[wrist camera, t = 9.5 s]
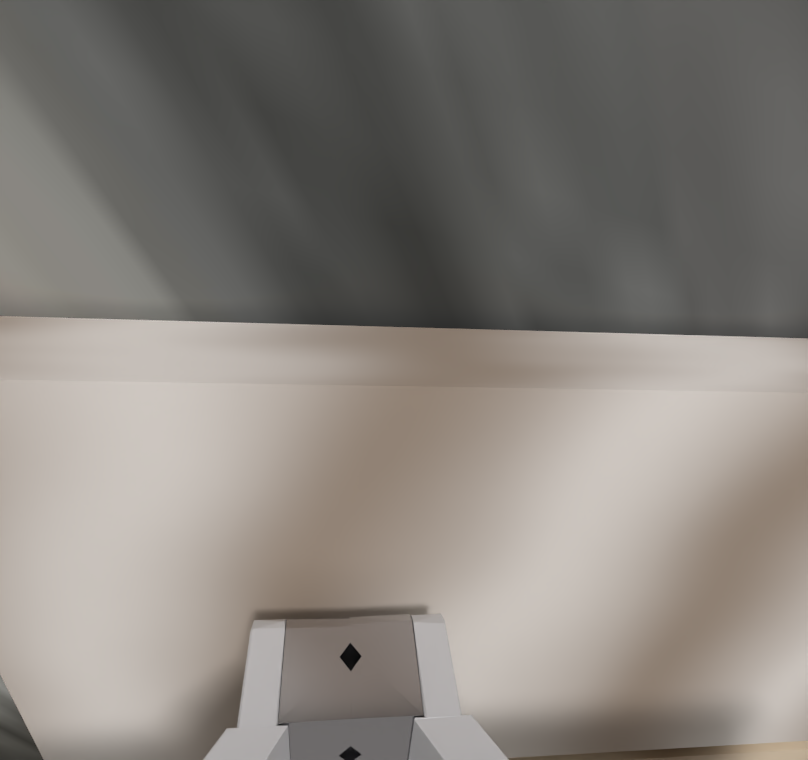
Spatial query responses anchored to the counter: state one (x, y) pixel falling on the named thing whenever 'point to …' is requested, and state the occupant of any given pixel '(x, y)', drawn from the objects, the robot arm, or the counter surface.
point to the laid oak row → (698, 753)
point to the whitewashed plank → (404, 524)
